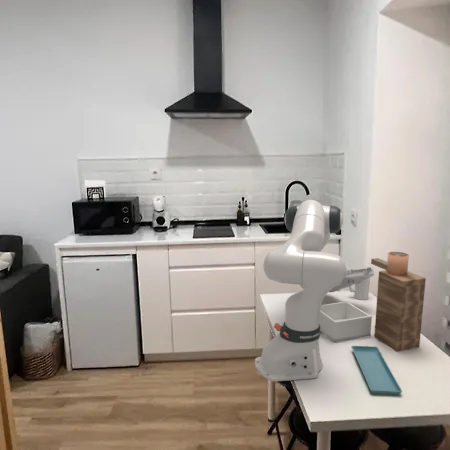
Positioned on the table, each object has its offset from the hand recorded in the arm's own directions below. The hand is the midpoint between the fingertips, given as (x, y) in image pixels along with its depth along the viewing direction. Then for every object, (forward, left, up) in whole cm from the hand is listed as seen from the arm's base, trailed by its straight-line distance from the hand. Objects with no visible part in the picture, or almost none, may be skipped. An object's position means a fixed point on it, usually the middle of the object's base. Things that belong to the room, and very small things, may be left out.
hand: (361, 270), depth 169 cm
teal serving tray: (-21, -37, -22) cm, 47 cm away
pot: (0, -16, +5) cm, 16 cm away
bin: (-14, -8, -21) cm, 26 cm away
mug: (+14, +19, -21) cm, 32 cm away
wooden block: (0, -23, -21) cm, 31 cm away
